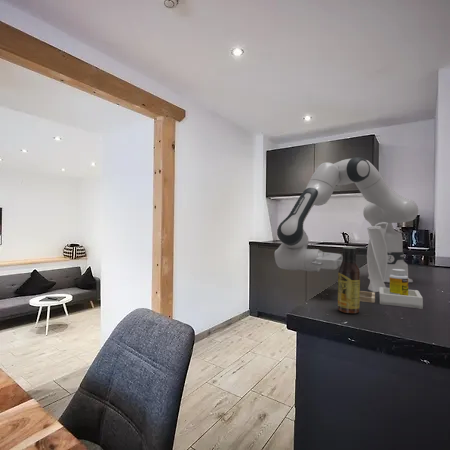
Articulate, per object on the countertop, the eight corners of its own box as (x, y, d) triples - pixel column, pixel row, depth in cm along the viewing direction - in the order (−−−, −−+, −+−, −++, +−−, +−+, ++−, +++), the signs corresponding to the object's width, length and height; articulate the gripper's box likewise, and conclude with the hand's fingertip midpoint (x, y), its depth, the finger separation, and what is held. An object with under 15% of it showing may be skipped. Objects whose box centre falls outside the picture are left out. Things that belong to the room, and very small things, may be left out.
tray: (379, 296, 106) (379, 287, 106) (418, 300, 101) (417, 290, 101) (379, 304, 96) (379, 293, 96) (422, 308, 90) (422, 297, 90)
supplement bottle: (403, 302, 94) (403, 271, 94) (386, 298, 99) (386, 269, 99) (411, 299, 97) (411, 270, 97) (394, 296, 102) (394, 268, 102)
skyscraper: (383, 288, 119) (383, 222, 120) (392, 292, 112) (392, 222, 112) (364, 288, 120) (363, 222, 120) (371, 292, 113) (371, 222, 113)
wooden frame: (346, 293, 111) (346, 289, 111) (375, 296, 106) (374, 292, 106) (343, 299, 102) (343, 295, 102) (374, 302, 97) (374, 298, 97)
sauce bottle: (334, 308, 91) (334, 246, 91) (354, 308, 91) (354, 246, 91) (342, 314, 84) (342, 248, 84) (364, 314, 84) (363, 247, 84)
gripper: (309, 254, 103) (350, 256, 97) (318, 250, 121) (354, 251, 115) (309, 272, 103) (350, 274, 97) (319, 264, 121) (354, 266, 115)
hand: (352, 261), depth 106 cm, fingers open, 8 cm apart
